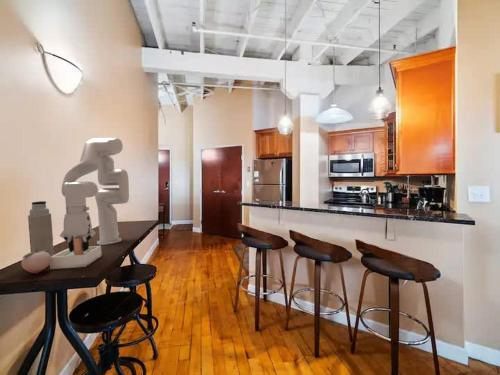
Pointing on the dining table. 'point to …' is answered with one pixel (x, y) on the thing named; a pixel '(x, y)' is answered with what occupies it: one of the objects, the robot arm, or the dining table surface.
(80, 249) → the peg
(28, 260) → the decorative fruit
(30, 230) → the thermos bottle
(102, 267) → the dining table surface
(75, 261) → the tub
